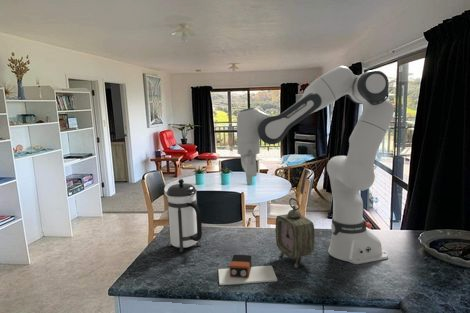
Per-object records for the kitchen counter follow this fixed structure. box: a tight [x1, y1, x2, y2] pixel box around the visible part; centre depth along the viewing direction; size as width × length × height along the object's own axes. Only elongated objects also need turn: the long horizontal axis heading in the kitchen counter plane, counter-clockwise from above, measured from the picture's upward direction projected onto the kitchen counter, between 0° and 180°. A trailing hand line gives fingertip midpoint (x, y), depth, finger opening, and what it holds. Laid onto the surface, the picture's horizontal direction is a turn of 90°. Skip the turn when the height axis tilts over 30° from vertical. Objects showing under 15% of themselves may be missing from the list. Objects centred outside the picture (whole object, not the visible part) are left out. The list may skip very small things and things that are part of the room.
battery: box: [229, 254, 252, 278], centre depth 118 cm, size 4×7×10 cm
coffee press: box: [165, 178, 203, 254], centre depth 140 cm, size 17×16×30 cm
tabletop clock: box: [275, 197, 315, 269], centre depth 125 cm, size 14×9×25 cm, turn 22°
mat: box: [218, 265, 278, 286], centre depth 116 cm, size 20×10×1 cm, turn 95°
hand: (249, 182), depth 132 cm, fingers closed
